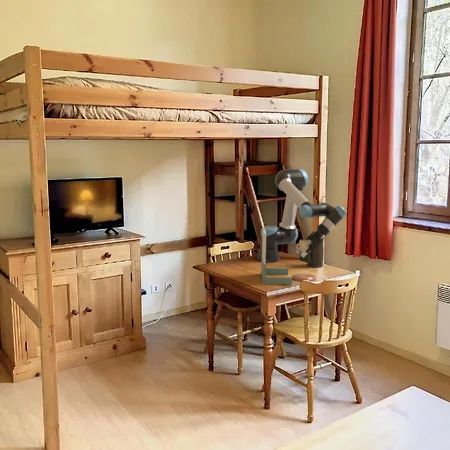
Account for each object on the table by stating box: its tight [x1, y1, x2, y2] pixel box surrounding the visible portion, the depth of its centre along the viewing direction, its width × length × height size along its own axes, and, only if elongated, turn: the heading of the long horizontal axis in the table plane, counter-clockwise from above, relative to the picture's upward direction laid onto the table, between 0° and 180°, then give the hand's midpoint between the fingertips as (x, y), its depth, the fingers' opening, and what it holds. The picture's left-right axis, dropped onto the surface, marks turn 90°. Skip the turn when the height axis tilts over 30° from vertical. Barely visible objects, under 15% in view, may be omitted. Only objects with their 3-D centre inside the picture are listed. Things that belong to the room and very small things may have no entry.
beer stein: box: [304, 238, 325, 269], centre depth 349 cm, size 15×11×20 cm
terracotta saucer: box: [292, 273, 317, 282], centre depth 320 cm, size 14×14×1 cm
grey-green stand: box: [260, 226, 293, 286], centre depth 316 cm, size 17×24×30 cm
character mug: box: [296, 239, 311, 263], centre depth 317 cm, size 11×7×13 cm, turn 101°
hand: (299, 254), depth 317 cm, fingers closed on character mug, 7 cm apart
